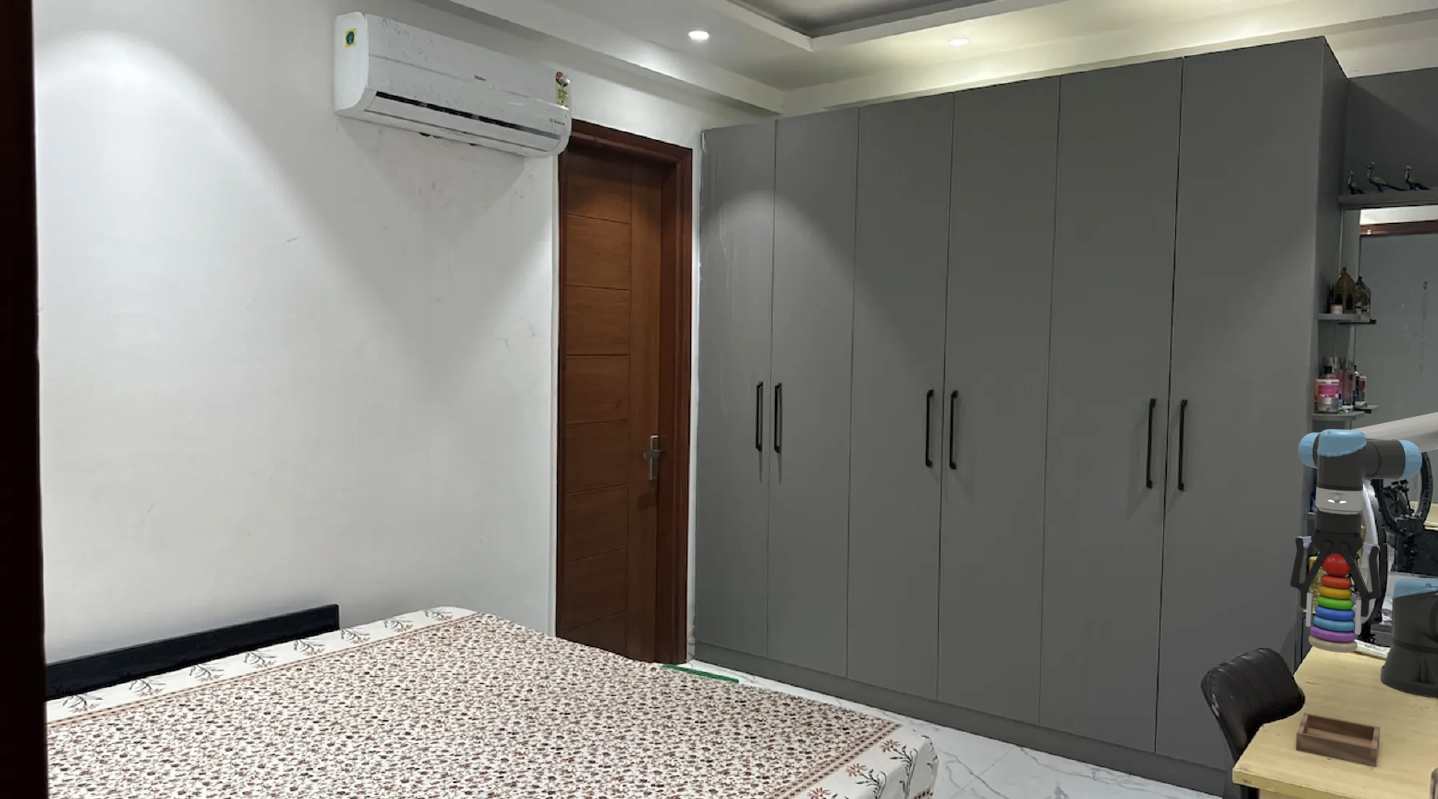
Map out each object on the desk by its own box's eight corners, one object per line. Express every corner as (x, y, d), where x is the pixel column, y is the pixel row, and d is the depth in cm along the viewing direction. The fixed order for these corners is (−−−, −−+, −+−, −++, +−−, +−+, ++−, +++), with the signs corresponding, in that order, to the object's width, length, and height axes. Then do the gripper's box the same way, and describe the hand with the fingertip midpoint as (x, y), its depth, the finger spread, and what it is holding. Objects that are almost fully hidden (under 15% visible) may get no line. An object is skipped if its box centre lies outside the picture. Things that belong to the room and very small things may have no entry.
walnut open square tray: (1303, 728, 186) (1304, 712, 185) (1379, 743, 178) (1380, 727, 178) (1296, 749, 176) (1296, 733, 176) (1375, 766, 169) (1376, 749, 169)
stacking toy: (1364, 655, 182) (1369, 556, 181) (1316, 652, 184) (1321, 554, 183) (1347, 643, 190) (1352, 548, 189) (1302, 640, 191) (1306, 546, 190)
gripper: (1275, 507, 189) (1270, 623, 190) (1401, 519, 176) (1395, 643, 178) (1281, 502, 195) (1276, 615, 196) (1404, 514, 182) (1398, 634, 184)
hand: (1333, 628), depth 187 cm, fingers closed on stacking toy, 7 cm apart
